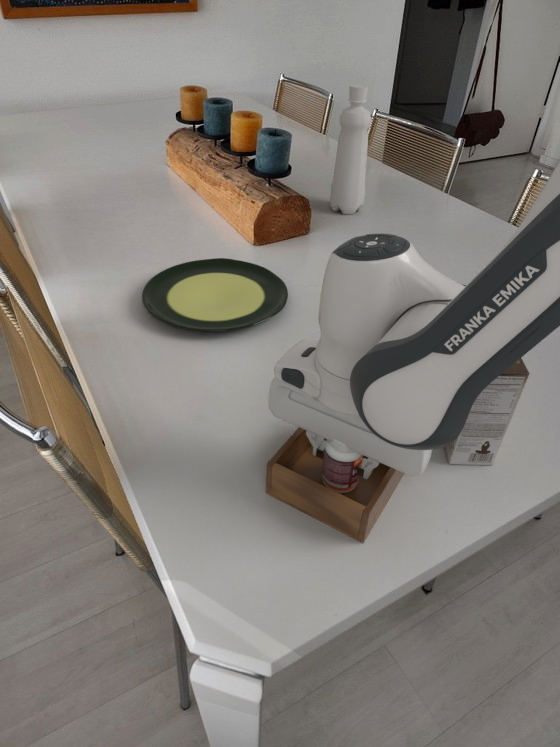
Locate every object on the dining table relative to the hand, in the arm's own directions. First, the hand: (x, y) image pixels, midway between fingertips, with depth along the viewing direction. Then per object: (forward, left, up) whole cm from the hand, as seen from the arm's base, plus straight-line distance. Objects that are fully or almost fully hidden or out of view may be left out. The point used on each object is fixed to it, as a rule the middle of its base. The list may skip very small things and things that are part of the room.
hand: (341, 464), depth 68 cm
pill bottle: (0, 0, -3) cm, 3 cm away
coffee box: (-11, -16, -4) cm, 20 cm away
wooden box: (0, 0, -3) cm, 3 cm away
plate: (+41, -28, -4) cm, 50 cm away
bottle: (+42, -87, -4) cm, 97 cm away
